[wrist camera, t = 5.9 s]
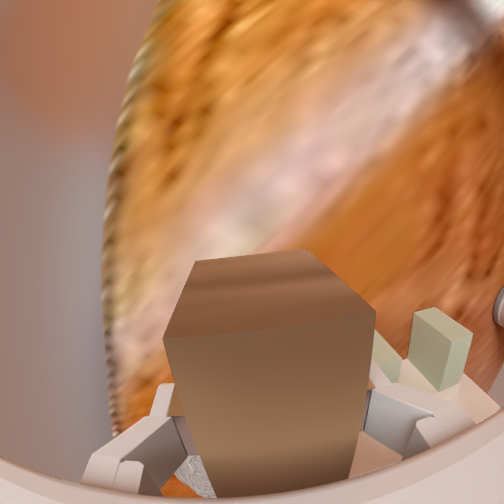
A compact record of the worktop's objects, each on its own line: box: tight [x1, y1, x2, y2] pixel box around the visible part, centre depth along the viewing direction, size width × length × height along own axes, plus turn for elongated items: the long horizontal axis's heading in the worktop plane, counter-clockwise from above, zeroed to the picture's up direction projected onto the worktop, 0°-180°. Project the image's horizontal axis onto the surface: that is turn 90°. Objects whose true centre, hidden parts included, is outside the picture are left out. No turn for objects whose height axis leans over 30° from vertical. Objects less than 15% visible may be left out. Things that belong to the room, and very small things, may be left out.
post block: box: [348, 307, 500, 479], centre depth 23 cm, size 9×18×12 cm, turn 96°
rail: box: [163, 249, 376, 498], centre depth 8 cm, size 14×4×5 cm, turn 6°
